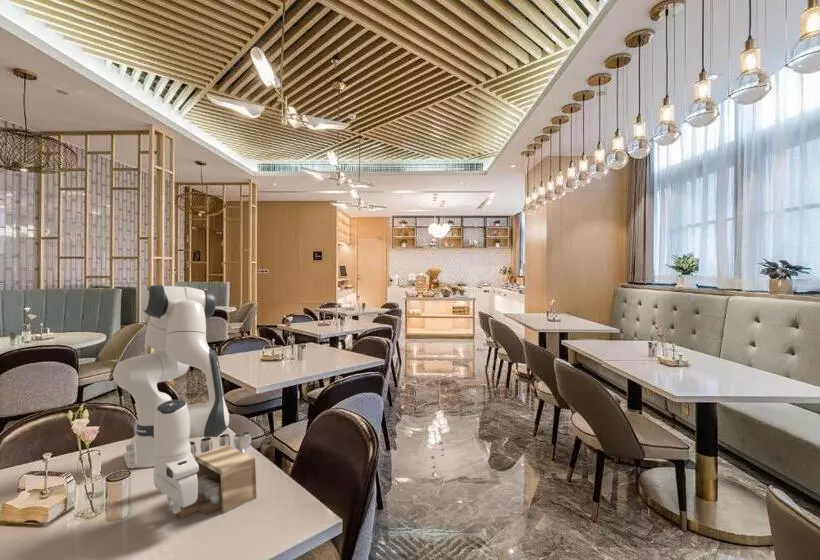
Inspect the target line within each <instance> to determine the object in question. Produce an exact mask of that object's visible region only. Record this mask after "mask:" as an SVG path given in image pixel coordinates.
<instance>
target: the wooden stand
mask: <svg viewBox="0 0 820 560" xmlns="http://www.w3.org/2000/svg"><path fill="white" fill-rule="evenodd" d="M194 459H195V461H196V462H197V463H198V466H199V471H198V472H196V475H197V479H199V478H200V477H204V476H207V477H209V480H215V483H220V484H221V498H222V508H221V513H223V514H225V513H228V512H229V510H230V511H231V509H232V510H234V509H235V508H238V507H240V506H242V504H243V505H244V503H245V504H246V502H247V503H249V502H251V501H253V500H255V499H257V476H256V475H257V471H256V458H255V457H254V456H251V455H249V454H247V453H246V452H245V453H243V452H241V451H239V450H237V449H236V448H235V447H232V446H231V445H230V446H228V445H224V446H222V447H220V446H218V447H216V448H212V450H210V451H207V452H204V453H201V452H200V453H198V454H196V455H195V458H194ZM254 498H255V499H254ZM248 501H249V502H248ZM233 508H234V509H233ZM227 511H228V512H227Z"/></svg>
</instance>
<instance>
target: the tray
mask: <svg viewBox="0 0 820 560" xmlns="http://www.w3.org/2000/svg"><path fill="white" fill-rule="evenodd" d="M220 509H222V498H221V484H220V483H215V480H209V477H207V476H204V477H200V478H199V479H198V496H197V500H196V502H195V503H194V504H192V505H189V506H187V507H181V511H180V512H179V513H176V514H175V516H177V517H179V518H180V519H183V518H185V517H189V515H192V514H194V513H197V512H199V511H200V513H203V514H204V515H206V516H207V515H209V514H211V513H213V512H216V511H218V510H220Z"/></svg>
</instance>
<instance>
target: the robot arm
mask: <svg viewBox="0 0 820 560" xmlns="http://www.w3.org/2000/svg"><path fill="white" fill-rule="evenodd" d="M141 302H142V303H141V304H142V309H143V310H142V311H143V312H144V313H145V314H146V315H147V316H149V320H148V324H147V327H146V331H145V334H144V341H145V343H146V344H147V345H148V347H150V348H152V349H153V350H154V351H153V352H151V353H147V354H142V355H137V356H131V357H129V358H127V359H124V360H121V361H119V362H117V364H116V365H115V367H114V369H113V373H112V374H113V375H112V376H113V381H114V383H115V384H116V386H117V387H119V388H121V389H123V390H125V391H127V392H128V393H129V394H130V395H131V396H132V397H133V399H134V401H135V406H136V414H137V424H136V426H135V435H134V436H133V437H132V438H131V439H130V440H129V444H126V447H125V448H126V449H125V450H126V452H124V453H123V454H122V457H124V458H123V460H124V462H126V463H125V465H126V467H128V468H131V469H139V468H152V467H153V484H154V486H155V488H156V489H158V490H159V492H160V491H162V492H163V493H164V494H163V495H165V496H166V499H167V501H168V504H169V511H170V512H172V513H173V514H175V515H176V513H179V512H180V511H181V507H187V506H189V505H192V504H194V503H195V502H196V500H197V496H198V479H197V475H196V472H198V471H199V466H198V463H197V462H196V461H195V458H193V455H192V453H191V445H190V439H197V438H198V439H199V438H207V437H210V438H218V437H220V435H223V433H224V432H225V431H227V429H228V428H229V424H230V413H229V410H228V406H227V403H226V402H227V401H226V398H225V391H224V384H223V380H222V379H223V378H222V373H221V366H220V361H219V358H218V355H217V353H216V351H215V350H214V349H212V348H210V346H209V344H208V342H207V341H208V340H207V320H208V319H210V318H211V317H212V316H213V315H214V313H215V311H216V307H217V298H216V295H215V294H214V292H212V291H211V290H208V289H200V288H196V287H192V286H191V287H189V286H184V285H183V286H178V285H177V286H176V285H162V284H157V285H156V284H155V285H150V286H149V287H148V288H146V290H145V292H144V293H143V296H142V299H141ZM190 367H192V368H196V369H199V370H200V371H201V372H203V373H204V375H205V379H206V385H207V393H208V399H209V400H208V401H207V402H206V403H193V404H188V403H187V402H186V401H185V400H182V399H172V397H171V396H170V395H169V394H167V393H166V392H162V391H160V390H159V389H158V384H159V383H163V382H167V381H171V380H174V379H177V378H179V377H181V376H184V375H186V373H187V372H188V371H189V368H190ZM128 468H127V469H128Z"/></svg>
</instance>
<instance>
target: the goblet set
mask: <svg viewBox="0 0 820 560" xmlns="http://www.w3.org/2000/svg"><path fill="white" fill-rule="evenodd" d="M232 441H233V443H232V445H233V448H234V449H236V450H239V451H241V452H243V453H245V454H246V451H247V450H248V449H249V447H250V445H251V444H252V437H251V434H250V432H249V431H240V432H238V433H236V434H235V435H234V437H233V440H232ZM189 442H190V445H191V453H192V455H193V458H194V459H195V455H197V454H196V453H197V445H196V442H195V441H192V440H191V441H190V440H189ZM199 443H200V444H199V445H200V446H199V449H200V454H201V453H204V452H207V451H210V450H213V439H212V437H202V438H201V439H200V442H199ZM218 445H219V446H218V447H222V446H224V445H228V446H230V447H231V437H230V434H229V433H224V434H223V433H222V434H221V435H219V438H218ZM159 493H160V494H162V495H165V494H164V493H163V492H162V491H160V490H159Z"/></svg>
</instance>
